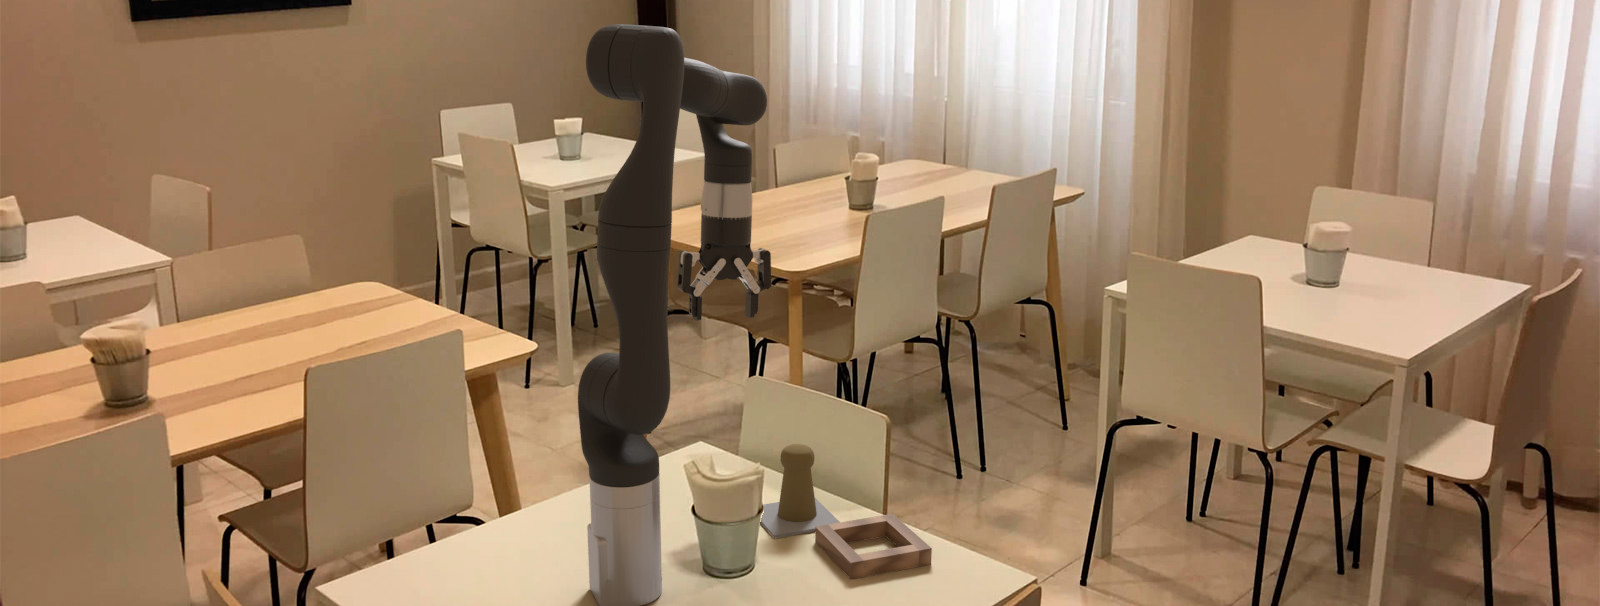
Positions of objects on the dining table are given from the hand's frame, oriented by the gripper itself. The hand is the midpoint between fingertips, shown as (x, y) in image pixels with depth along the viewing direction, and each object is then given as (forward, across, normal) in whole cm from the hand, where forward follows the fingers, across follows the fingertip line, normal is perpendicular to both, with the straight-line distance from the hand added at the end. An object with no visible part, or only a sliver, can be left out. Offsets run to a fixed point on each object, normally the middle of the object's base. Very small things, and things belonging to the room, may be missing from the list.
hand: (723, 318), depth 196 cm
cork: (+30, +10, -8) cm, 33 cm away
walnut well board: (+31, +15, -23) cm, 41 cm away
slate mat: (+30, +10, -8) cm, 33 cm away
